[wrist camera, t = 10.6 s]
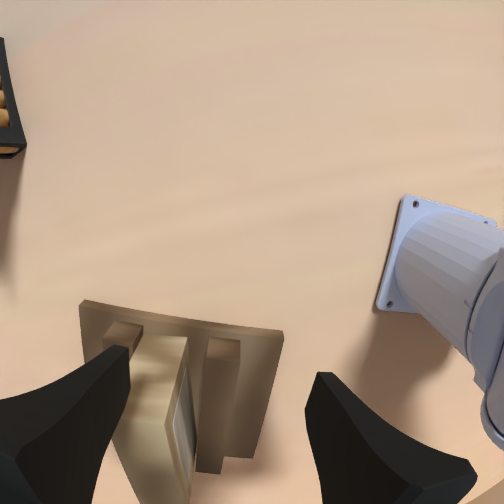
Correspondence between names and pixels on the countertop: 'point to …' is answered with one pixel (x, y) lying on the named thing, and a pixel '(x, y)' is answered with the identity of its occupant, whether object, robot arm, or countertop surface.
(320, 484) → the robot arm
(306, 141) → the countertop surface
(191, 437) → the beige wooden block
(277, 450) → the countertop surface
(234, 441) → the notched stand
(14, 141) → the ammunition clip
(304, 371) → the countertop surface
